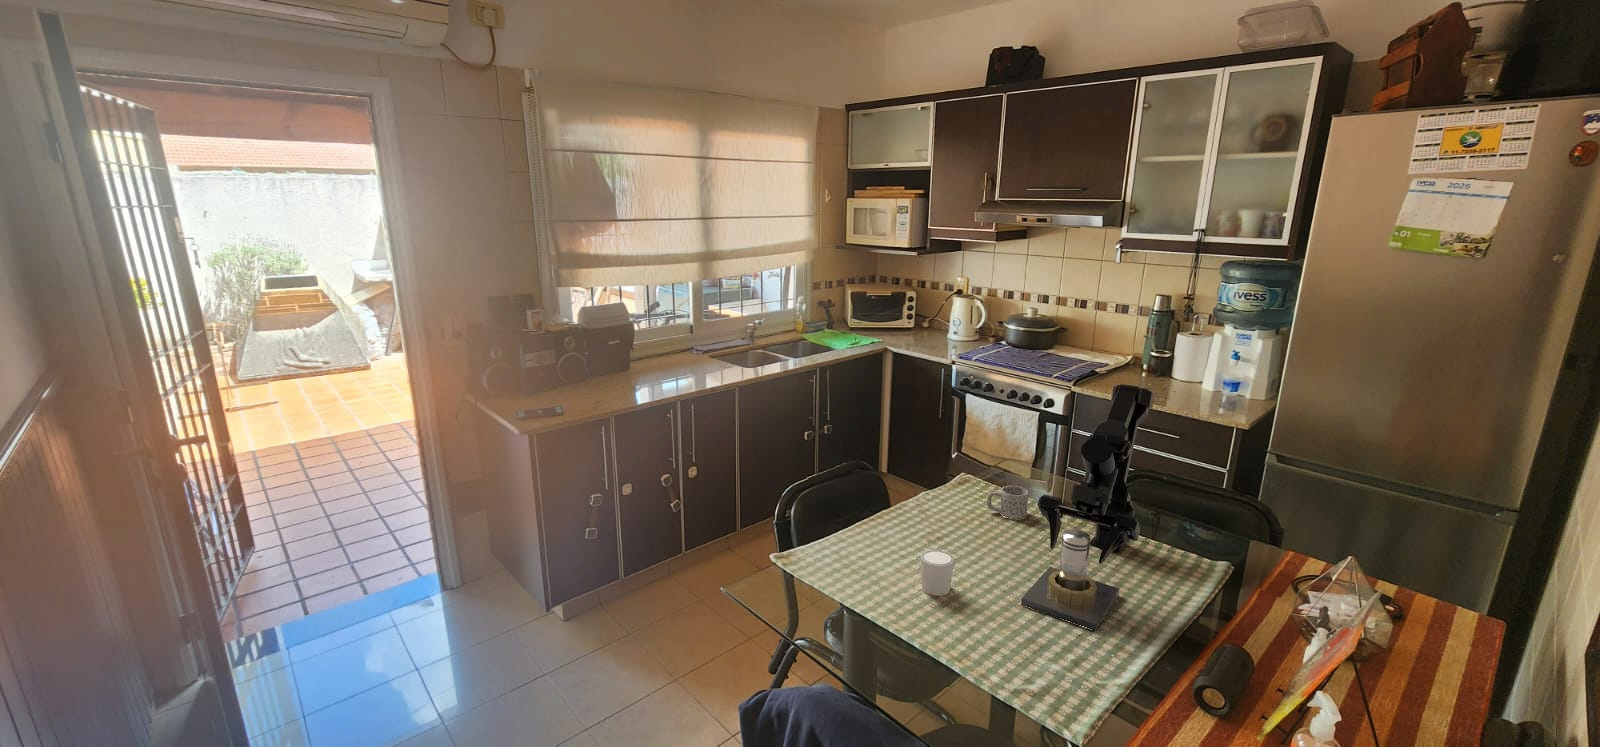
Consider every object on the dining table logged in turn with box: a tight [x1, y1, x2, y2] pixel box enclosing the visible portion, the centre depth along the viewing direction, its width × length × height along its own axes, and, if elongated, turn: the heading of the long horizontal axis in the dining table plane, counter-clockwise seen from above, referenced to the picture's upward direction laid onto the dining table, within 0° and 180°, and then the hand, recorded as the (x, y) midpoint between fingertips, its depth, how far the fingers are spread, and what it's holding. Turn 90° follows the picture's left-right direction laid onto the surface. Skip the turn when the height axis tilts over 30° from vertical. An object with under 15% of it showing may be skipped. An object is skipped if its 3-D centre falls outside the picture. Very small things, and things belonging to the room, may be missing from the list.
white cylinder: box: [919, 549, 956, 597], centre depth 137 cm, size 7×7×7 cm
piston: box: [1058, 529, 1092, 591], centre depth 132 cm, size 5×5×12 cm
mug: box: [986, 485, 1029, 520], centre depth 173 cm, size 10×7×7 cm, turn 77°
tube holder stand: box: [1020, 566, 1121, 632], centre depth 133 cm, size 16×14×4 cm
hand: (1075, 555), depth 132 cm, fingers open, 9 cm apart
